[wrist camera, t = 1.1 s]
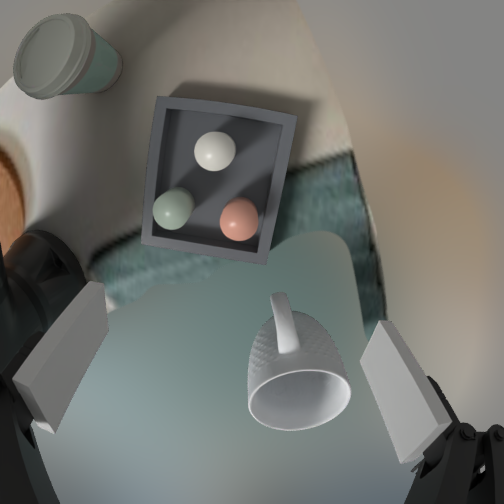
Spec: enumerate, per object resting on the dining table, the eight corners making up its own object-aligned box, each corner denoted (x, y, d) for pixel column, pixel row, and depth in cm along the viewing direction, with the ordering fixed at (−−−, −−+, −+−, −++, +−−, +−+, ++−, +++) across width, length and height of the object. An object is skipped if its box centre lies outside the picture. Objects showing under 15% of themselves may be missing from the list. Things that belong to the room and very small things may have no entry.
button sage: (160, 217, 31) (151, 226, 28) (163, 184, 29) (154, 190, 26) (192, 222, 31) (186, 232, 28) (196, 189, 29) (191, 196, 26)
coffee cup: (109, 26, 24) (55, -5, 12) (147, 65, 26) (97, 38, 15) (62, 76, 26) (-1, 67, 14) (95, 118, 28) (32, 118, 17)
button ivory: (197, 164, 28) (191, 168, 25) (203, 129, 27) (197, 129, 24) (232, 169, 29) (230, 173, 26) (239, 134, 27) (237, 134, 24)
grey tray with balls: (149, 235, 34) (141, 244, 31) (165, 99, 28) (157, 96, 25) (264, 254, 35) (266, 265, 32) (293, 117, 29) (297, 115, 26)
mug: (230, 281, 36) (221, 352, 24) (318, 260, 35) (348, 324, 23) (258, 365, 42) (261, 437, 30) (331, 349, 41) (352, 418, 29)
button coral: (220, 227, 31) (217, 237, 28) (225, 194, 30) (222, 201, 27) (254, 232, 31) (254, 243, 28) (260, 200, 30) (261, 207, 27)
